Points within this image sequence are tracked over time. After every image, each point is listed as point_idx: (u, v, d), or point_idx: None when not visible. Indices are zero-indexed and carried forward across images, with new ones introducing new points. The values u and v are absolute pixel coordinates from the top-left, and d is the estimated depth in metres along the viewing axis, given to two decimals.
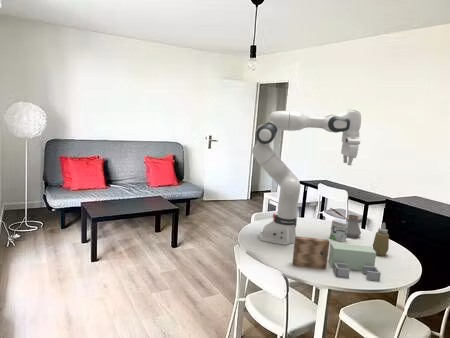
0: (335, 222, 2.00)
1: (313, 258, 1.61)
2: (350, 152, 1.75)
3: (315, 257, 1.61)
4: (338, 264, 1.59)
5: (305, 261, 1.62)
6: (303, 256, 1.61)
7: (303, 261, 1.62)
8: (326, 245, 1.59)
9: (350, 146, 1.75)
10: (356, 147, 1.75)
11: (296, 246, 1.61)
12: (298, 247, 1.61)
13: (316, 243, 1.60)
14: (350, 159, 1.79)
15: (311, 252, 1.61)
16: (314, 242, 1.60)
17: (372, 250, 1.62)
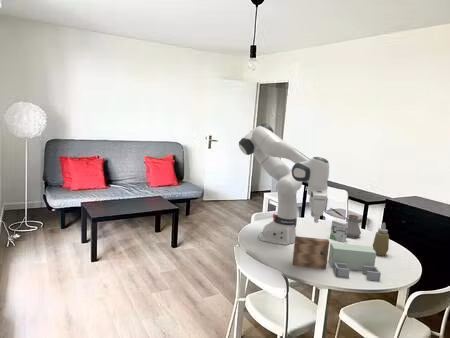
0: (335, 222, 2.00)
1: (313, 258, 1.61)
2: (315, 209, 1.49)
3: (315, 257, 1.61)
4: (338, 264, 1.59)
5: (305, 261, 1.62)
6: (303, 256, 1.61)
7: (303, 261, 1.62)
8: (326, 245, 1.59)
9: (315, 202, 1.49)
10: (322, 203, 1.49)
11: (296, 246, 1.61)
12: (298, 247, 1.61)
13: (316, 243, 1.60)
14: (316, 216, 1.53)
15: (311, 252, 1.61)
16: (314, 242, 1.60)
17: (372, 250, 1.62)
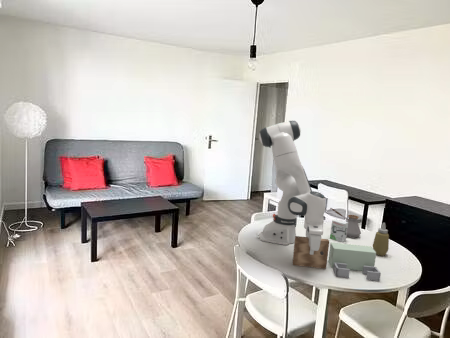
0: (335, 222, 2.00)
1: (313, 258, 1.61)
2: (311, 244, 1.52)
3: (315, 256, 1.61)
4: (338, 264, 1.59)
5: (305, 261, 1.62)
6: (303, 256, 1.61)
7: (303, 261, 1.62)
8: (326, 244, 1.60)
9: (311, 237, 1.52)
10: (318, 239, 1.51)
11: (296, 246, 1.61)
12: (298, 247, 1.61)
13: None
14: None
15: None
16: None
17: (372, 250, 1.62)
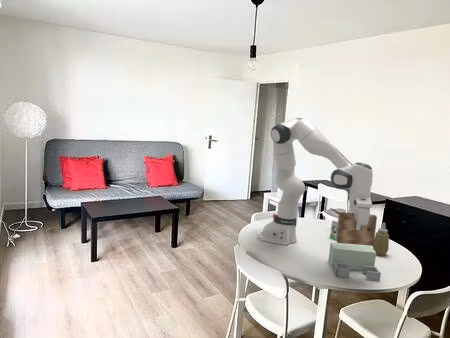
0: (335, 222, 2.00)
1: (359, 234, 1.51)
2: (360, 218, 1.42)
3: (362, 233, 1.51)
4: (338, 264, 1.59)
5: (351, 238, 1.52)
6: (348, 233, 1.52)
7: (348, 238, 1.52)
8: (373, 220, 1.49)
9: (359, 211, 1.42)
10: (367, 212, 1.41)
11: (341, 222, 1.52)
12: (343, 223, 1.51)
13: None
14: None
15: None
16: None
17: (372, 250, 1.62)
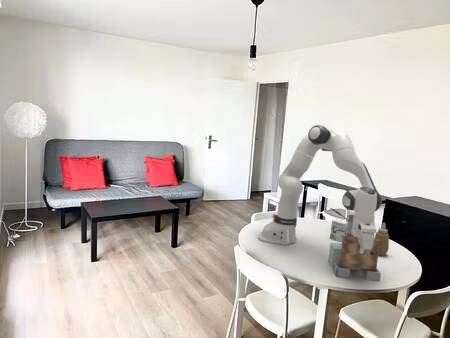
0: (335, 222, 2.00)
1: (363, 258, 1.53)
2: (364, 243, 1.44)
3: (365, 257, 1.53)
4: (338, 264, 1.59)
5: (354, 261, 1.54)
6: (352, 256, 1.54)
7: (352, 262, 1.54)
8: (377, 244, 1.52)
9: (364, 236, 1.44)
10: (371, 237, 1.43)
11: (345, 246, 1.53)
12: (347, 247, 1.53)
13: None
14: None
15: None
16: None
17: None
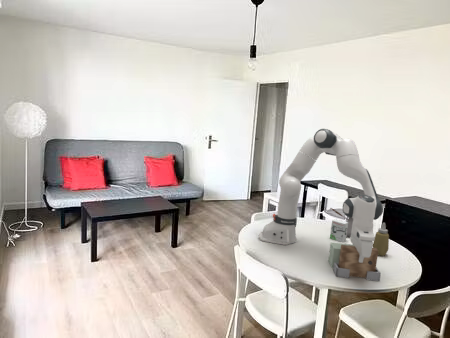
0: (335, 222, 2.00)
1: (361, 267, 1.54)
2: (362, 251, 1.44)
3: (363, 266, 1.54)
4: (338, 264, 1.59)
5: (352, 271, 1.54)
6: (350, 265, 1.54)
7: (350, 271, 1.55)
8: (375, 254, 1.52)
9: (362, 244, 1.44)
10: (370, 245, 1.44)
11: (343, 255, 1.54)
12: (345, 256, 1.54)
13: None
14: None
15: None
16: None
17: None
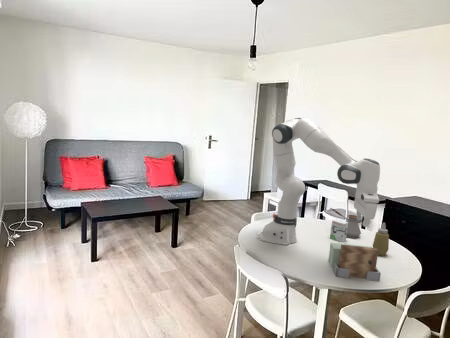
0: (335, 222, 2.00)
1: (361, 267, 1.54)
2: (367, 213, 1.44)
3: (363, 266, 1.54)
4: (338, 264, 1.59)
5: (352, 270, 1.54)
6: (350, 265, 1.54)
7: (350, 271, 1.55)
8: (375, 254, 1.52)
9: (367, 205, 1.44)
10: (374, 206, 1.43)
11: (343, 255, 1.54)
12: (345, 256, 1.54)
13: (365, 251, 1.53)
14: (366, 219, 1.48)
15: (359, 261, 1.53)
16: (362, 251, 1.53)
17: None
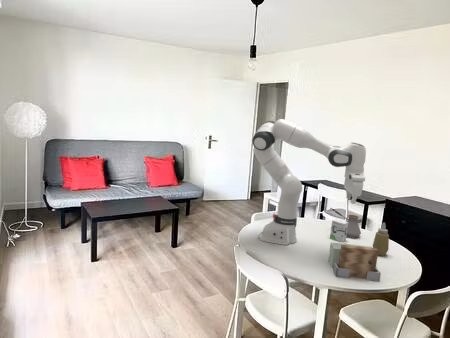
0: (335, 222, 2.00)
1: (361, 267, 1.54)
2: (354, 190, 1.60)
3: (363, 266, 1.54)
4: (338, 264, 1.59)
5: (352, 270, 1.54)
6: (350, 265, 1.54)
7: (350, 271, 1.55)
8: (375, 254, 1.52)
9: (354, 184, 1.61)
10: (361, 185, 1.60)
11: (343, 255, 1.54)
12: (345, 256, 1.54)
13: (365, 251, 1.53)
14: (354, 197, 1.64)
15: (359, 261, 1.53)
16: (362, 251, 1.53)
17: None
